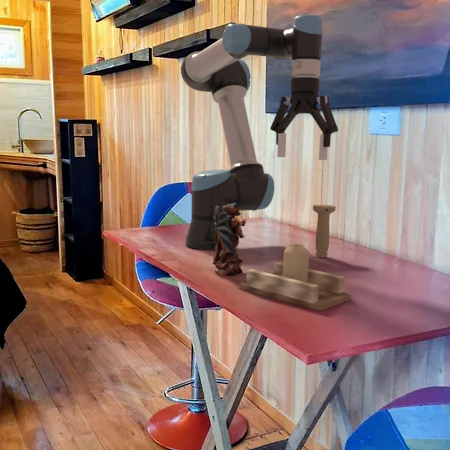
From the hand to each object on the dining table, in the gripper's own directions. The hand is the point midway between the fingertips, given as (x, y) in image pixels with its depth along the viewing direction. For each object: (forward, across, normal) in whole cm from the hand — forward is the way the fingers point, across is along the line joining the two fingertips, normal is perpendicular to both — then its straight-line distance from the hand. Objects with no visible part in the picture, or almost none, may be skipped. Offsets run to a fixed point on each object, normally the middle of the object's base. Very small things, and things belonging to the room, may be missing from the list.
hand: (301, 158), depth 152 cm
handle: (+29, +1, +11) cm, 31 cm away
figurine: (+29, -5, -22) cm, 37 cm away
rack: (+29, +18, -26) cm, 43 cm away
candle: (+28, +18, -26) cm, 42 cm away
